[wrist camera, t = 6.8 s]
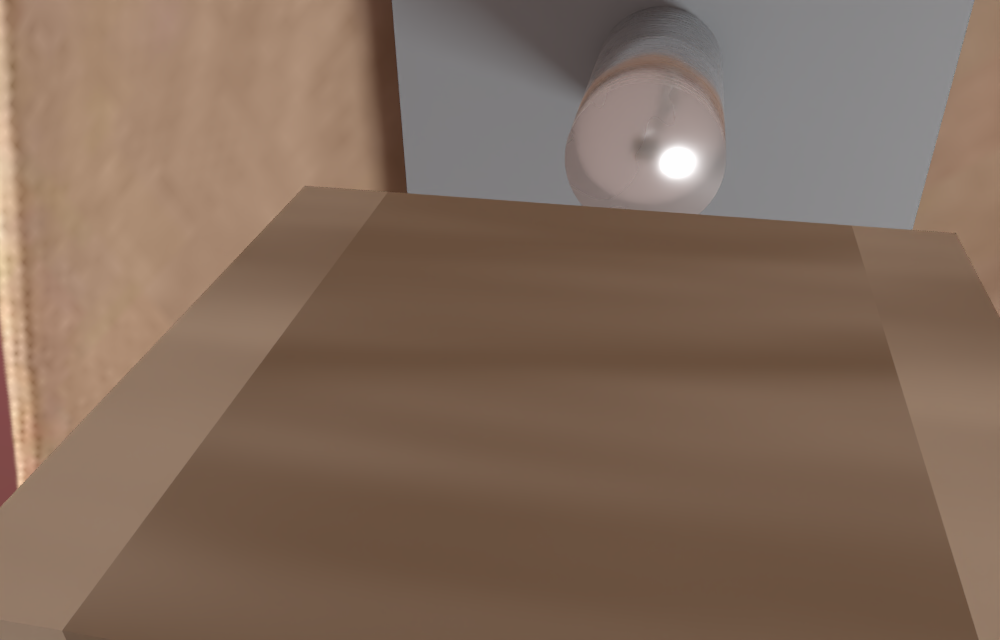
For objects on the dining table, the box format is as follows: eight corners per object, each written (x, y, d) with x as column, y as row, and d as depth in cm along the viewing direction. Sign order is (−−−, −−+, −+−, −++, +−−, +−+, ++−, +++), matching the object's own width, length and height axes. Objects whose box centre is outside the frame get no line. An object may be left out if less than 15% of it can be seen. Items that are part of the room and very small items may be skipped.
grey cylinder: (600, 4, 25) (566, 78, 19) (729, 8, 24) (736, 86, 18) (594, 125, 27) (562, 226, 21) (714, 132, 26) (715, 239, 20)
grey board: (385, -298, 23) (367, -301, 22) (1040, -318, 20) (1061, -323, 19) (427, 285, 33) (416, 305, 32) (872, 325, 30) (879, 350, 29)
